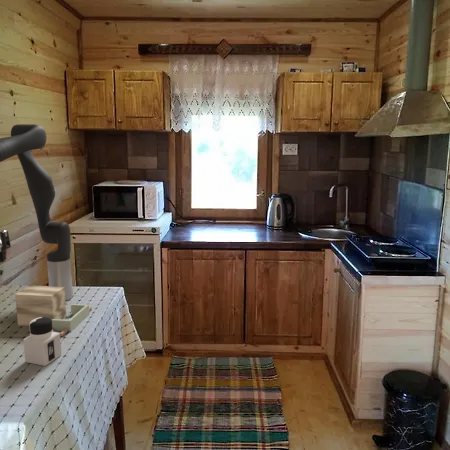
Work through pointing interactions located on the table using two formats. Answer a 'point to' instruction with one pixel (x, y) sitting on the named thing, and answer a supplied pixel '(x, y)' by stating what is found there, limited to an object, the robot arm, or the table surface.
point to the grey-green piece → (71, 319)
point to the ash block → (40, 303)
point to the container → (42, 342)
